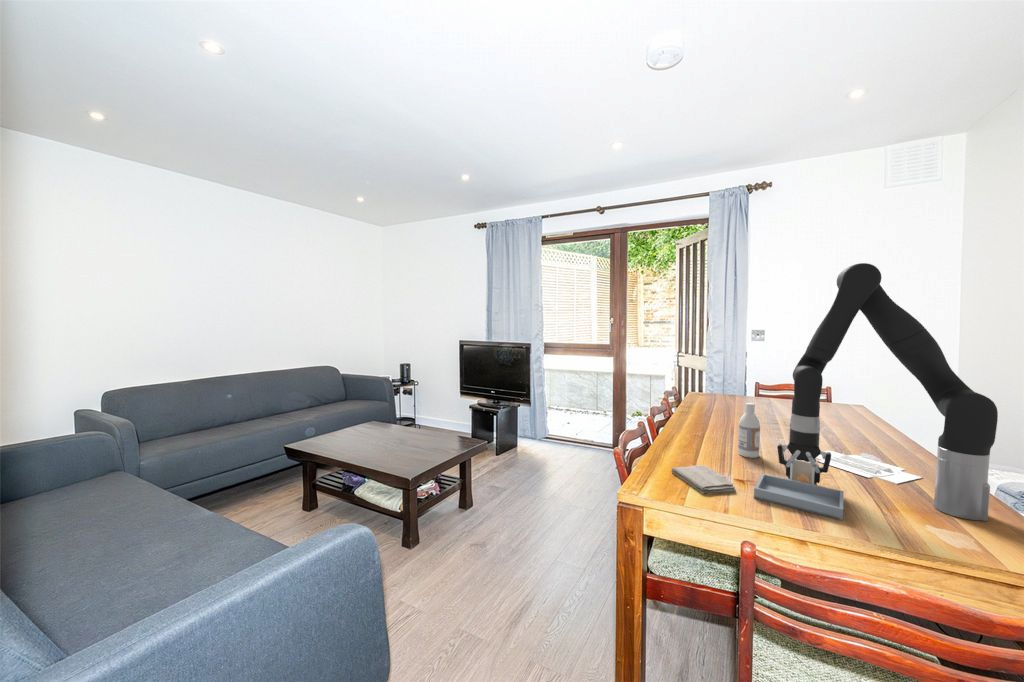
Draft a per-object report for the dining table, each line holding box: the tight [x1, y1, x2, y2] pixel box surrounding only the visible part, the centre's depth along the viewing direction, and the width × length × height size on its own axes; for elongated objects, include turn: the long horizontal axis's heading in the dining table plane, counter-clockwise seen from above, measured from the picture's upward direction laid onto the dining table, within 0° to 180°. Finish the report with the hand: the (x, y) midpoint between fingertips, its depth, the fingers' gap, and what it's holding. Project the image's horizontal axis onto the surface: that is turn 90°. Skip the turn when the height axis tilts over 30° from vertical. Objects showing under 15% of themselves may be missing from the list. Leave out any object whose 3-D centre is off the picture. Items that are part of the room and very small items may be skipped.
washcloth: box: [670, 464, 737, 495], centre depth 128 cm, size 12×18×3 cm, turn 10°
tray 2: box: [815, 450, 924, 485], centre depth 140 cm, size 20×28×4 cm
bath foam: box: [737, 402, 761, 459], centre depth 151 cm, size 7×7×20 cm
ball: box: [796, 474, 809, 483], centre depth 124 cm, size 3×3×3 cm
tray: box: [753, 473, 845, 522], centre depth 115 cm, size 20×14×3 cm
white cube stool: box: [790, 459, 815, 485], centre depth 125 cm, size 6×6×6 cm
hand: (802, 480), depth 125 cm, fingers closed on white cube stool, 6 cm apart
